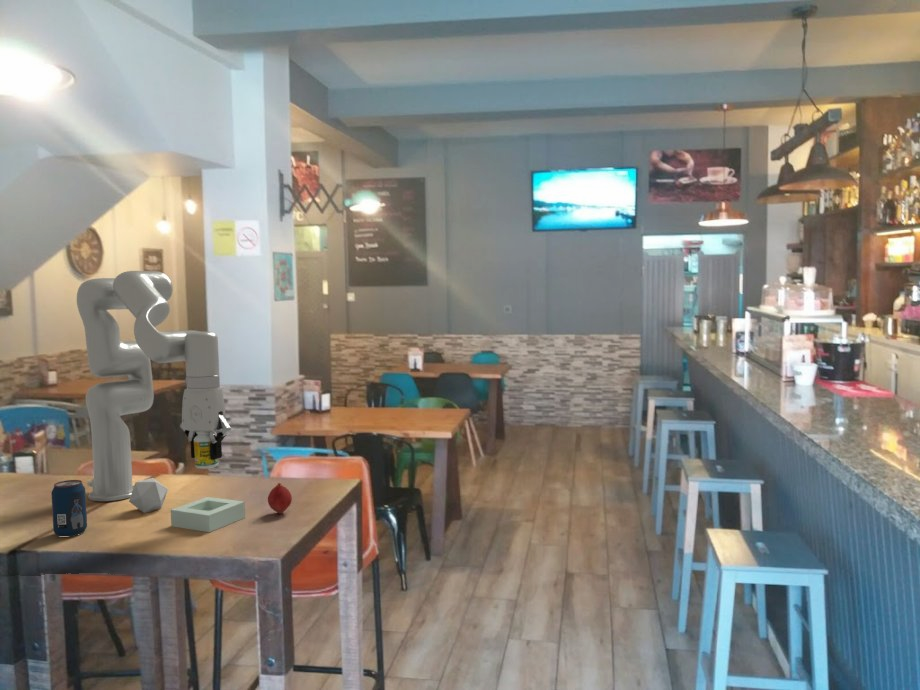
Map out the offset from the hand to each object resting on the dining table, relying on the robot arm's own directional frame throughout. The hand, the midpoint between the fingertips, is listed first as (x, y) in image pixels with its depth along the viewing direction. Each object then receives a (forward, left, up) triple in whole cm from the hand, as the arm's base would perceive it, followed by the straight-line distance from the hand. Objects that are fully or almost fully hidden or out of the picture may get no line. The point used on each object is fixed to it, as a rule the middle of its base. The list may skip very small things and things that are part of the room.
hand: (206, 457), depth 176 cm
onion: (+12, +12, -16) cm, 23 cm away
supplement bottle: (0, 0, -2) cm, 2 cm away
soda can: (-24, -19, -16) cm, 35 cm away
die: (-22, +2, -16) cm, 27 cm away
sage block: (0, 0, -16) cm, 16 cm away
